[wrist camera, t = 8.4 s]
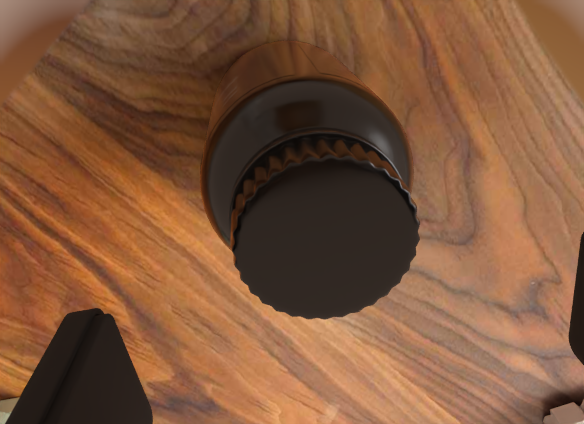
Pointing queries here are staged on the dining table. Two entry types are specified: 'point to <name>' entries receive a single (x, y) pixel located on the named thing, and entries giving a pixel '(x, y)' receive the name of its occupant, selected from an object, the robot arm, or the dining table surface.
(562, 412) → the bunny figurine
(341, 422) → the dining table surface
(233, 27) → the dining table surface
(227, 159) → the supplement bottle
